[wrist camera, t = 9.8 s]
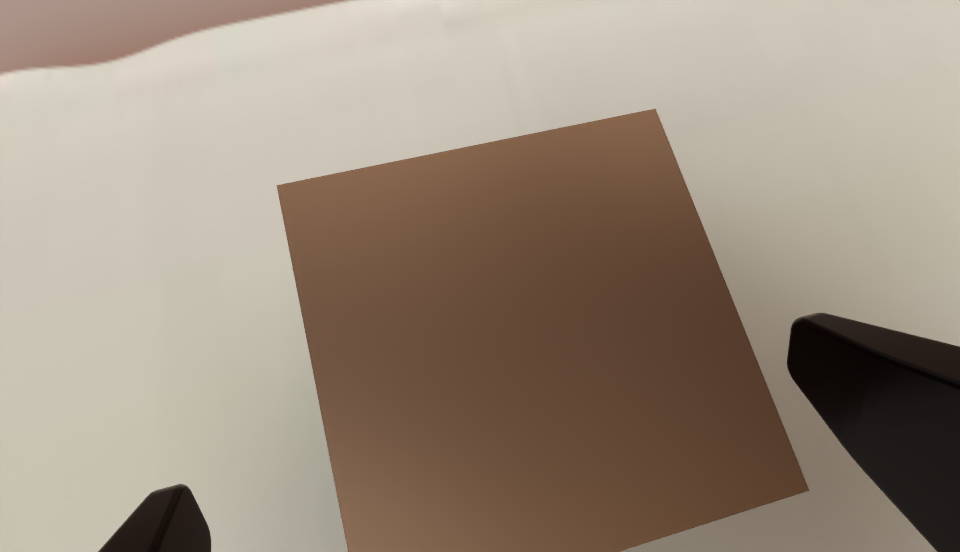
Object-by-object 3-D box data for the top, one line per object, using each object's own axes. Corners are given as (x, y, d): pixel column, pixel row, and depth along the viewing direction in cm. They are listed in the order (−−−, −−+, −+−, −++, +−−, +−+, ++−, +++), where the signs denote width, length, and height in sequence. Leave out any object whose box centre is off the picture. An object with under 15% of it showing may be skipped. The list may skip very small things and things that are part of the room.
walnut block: (554, 480, 18) (808, 490, 6) (408, 523, 18) (363, 633, 5) (513, 337, 20) (655, 109, 7) (374, 373, 19) (276, 185, 7)
